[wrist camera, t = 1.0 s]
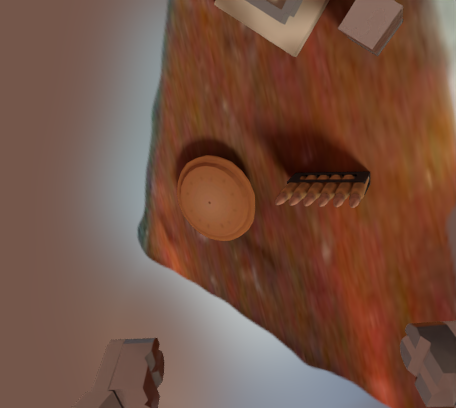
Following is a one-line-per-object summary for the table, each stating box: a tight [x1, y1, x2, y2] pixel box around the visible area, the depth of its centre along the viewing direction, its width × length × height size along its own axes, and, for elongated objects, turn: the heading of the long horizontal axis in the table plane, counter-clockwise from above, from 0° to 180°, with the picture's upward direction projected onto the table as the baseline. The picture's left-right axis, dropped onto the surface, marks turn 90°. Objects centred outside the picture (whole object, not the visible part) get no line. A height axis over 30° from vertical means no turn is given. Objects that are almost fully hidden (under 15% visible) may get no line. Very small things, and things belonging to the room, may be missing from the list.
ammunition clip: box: [275, 172, 370, 208], centre depth 41 cm, size 11×2×12 cm, turn 98°
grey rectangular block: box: [338, 0, 403, 56], centre depth 33 cm, size 4×4×10 cm
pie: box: [177, 155, 255, 241], centre depth 54 cm, size 15×16×5 cm
